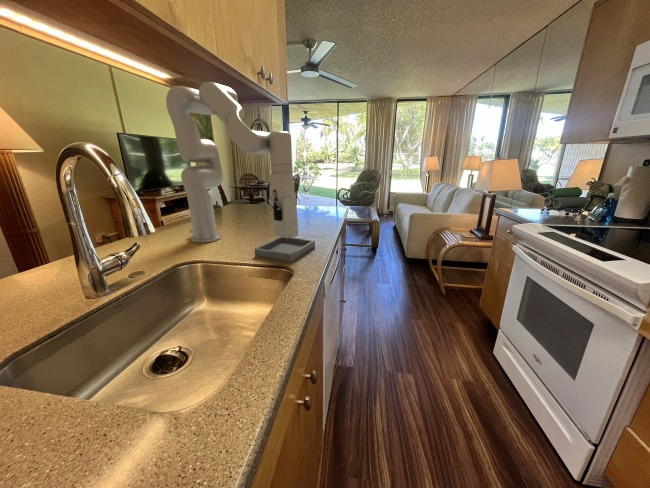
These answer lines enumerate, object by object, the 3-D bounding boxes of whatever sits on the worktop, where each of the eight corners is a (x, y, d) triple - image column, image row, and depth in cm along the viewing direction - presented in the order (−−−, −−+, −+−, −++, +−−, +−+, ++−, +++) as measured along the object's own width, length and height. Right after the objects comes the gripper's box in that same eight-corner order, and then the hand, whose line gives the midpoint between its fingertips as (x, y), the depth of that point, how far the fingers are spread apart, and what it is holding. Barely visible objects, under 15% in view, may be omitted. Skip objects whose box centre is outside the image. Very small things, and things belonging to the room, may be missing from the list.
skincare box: (298, 236, 100) (297, 196, 95) (285, 239, 96) (283, 198, 91) (286, 231, 106) (284, 194, 101) (273, 234, 102) (271, 195, 97)
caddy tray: (255, 256, 99) (254, 248, 98) (282, 242, 115) (282, 235, 114) (290, 263, 93) (290, 255, 92) (315, 247, 108) (315, 240, 107)
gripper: (286, 167, 102) (289, 212, 108) (257, 170, 87) (261, 222, 93) (303, 168, 99) (305, 214, 105) (275, 171, 84) (279, 224, 90)
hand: (284, 217), depth 99 cm, fingers closed on skincare box, 7 cm apart
